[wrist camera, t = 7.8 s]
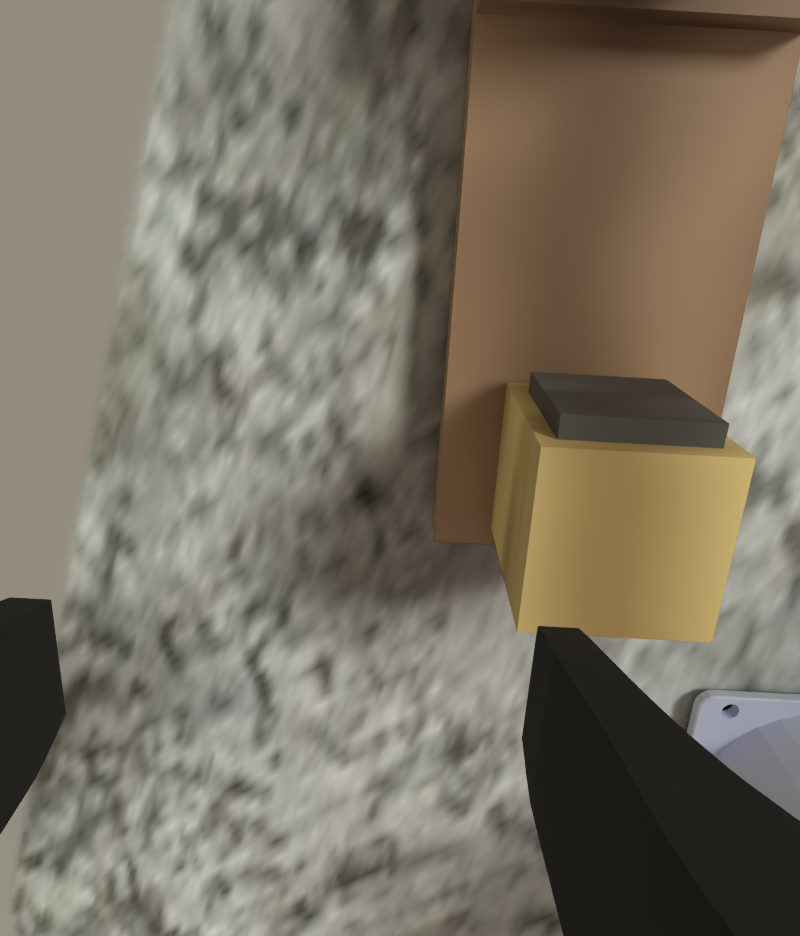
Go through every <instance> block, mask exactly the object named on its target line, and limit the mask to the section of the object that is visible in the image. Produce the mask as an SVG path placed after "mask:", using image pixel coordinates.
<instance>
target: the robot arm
mask: <svg viewBox="0 0 800 936" xmlns="http://www.w3.org/2000/svg"><path fill="white" fill-rule="evenodd" d="M730 704H733V706H732V707H731V708H729V709H727V710H723V708H724V707H725V706H727V705H730ZM65 714H66V712H65V704H64V696H63V689H62V681H61V673H60V666H59V658H58V650H57V642H56V635H55V627H54V619H53V612H52V604H51V600H46V599H27V598H7V599H5V600H2V601H0V834H1V832H2V831H3V829H4V828H5V826H6V824H7V823H8V821H9V820H10V818H11V817H12V815H13V813H14V812H15V810H16V809H17V807H18V805H19V804H20V802H21V801H22V799H23V798H24V796H25V794H26V793H27V791H28V790H29V788H30V786H31V785H32V783H33V781H34V780H35V778H36V777H37V774H38V772H39V770H40V768H41V766H42V764H43V762H44V760H45V758H46V756H47V754H48V752H49V750H50V748H51V746H52V743H53V741H54V739H55V737H56V735H57V732H58V730H59V728H60V726H61V723H62V721H63V719H64V717H65ZM522 741H523V750H524V758H525V767H526V775H527V782H528V790H529V797H530V804H531V808H532V812H533V816H534V820H535V824H536V828H537V832H538V836H539V840H540V844H541V849H542V853H543V857H544V860H545V864H546V868H547V872H548V876H549V880H550V884H551V888H552V892H553V896H554V900H555V904H556V908H557V912H558V916H559V919H560V923H561V927H562V931H563V935H564V936H800V694H783V693H765V692H746V691H727V690H707V691H704V692H702V693H700V694H699V695H698V696H697V697H696V699H695V701H694V704H693V708H692V712H691V716H690V720H689V725H688V729H687V732H686V731H685V730H684V729H682V728H681V727H680V726H679V725H678V724H677V723H676V722H675V721H674V720H672V719H671V718H670V717H669V716H668V715H667V714H666V713H665V712H664V711H663V710H662V709H661V708H659V707H658V706H657V705H656V704H655V703H654V702H653V701H652V700H651V699H650V698H649V697H648V696H647V695H646V694H645V693H644V692H643V691H642V690H641V689H640V688H639V687H638V686H637V685H636V684H635V683H634V682H633V681H632V680H630V679H629V678H628V676H627V675H626V674H625V673H624V672H623V671H622V670H621V669H620V668H619V667H618V666H617V665H616V664H615V663H614V662H613V661H612V660H611V659H610V658H609V657H608V656H607V655H606V654H605V653H604V652H603V651H602V650H601V649H600V648H599V647H598V646H597V645H596V644H595V643H594V642H593V641H592V640H591V639H590V638H589V637H588V636H587V635H586V634H585V633H584V632H583V631H581V630H580V629H579V628H568V627H549V626H538V628H537V635H536V642H535V649H534V656H533V663H532V671H531V678H530V685H529V692H528V699H527V706H526V713H525V720H524V728H523V735H522Z"/></svg>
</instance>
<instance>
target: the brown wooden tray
mask: <svg viewBox="0 0 800 936" xmlns="http://www.w3.org/2000/svg"><path fill="white" fill-rule="evenodd" d="M799 58H800V0H473V9H472V22H471V35H470V48H469V61H468V74H467V86H466V99H465V112H464V125H463V138H462V151H461V164H460V177H459V190H458V203H457V216H456V229H455V242H454V255H453V268H452V281H451V294H450V307H449V320H448V333H447V346H446V358H445V371H444V384H443V397H442V410H441V423H440V436H439V449H438V462H437V475H436V488H435V501H434V514H433V532H434V541H435V542H453V543H471V544H490V545H496V549H497V553H498V557H499V561H500V565H501V569H502V573H503V577H504V581H505V585H506V589H507V593H508V597H509V601H510V606H511V610H512V614H513V618H514V622H515V626H516V630H517V632H527V633H537V628H538V626H549V627H568V628H579V629H580V630H581V631H583V632H584V633H585V634H586V635H587V636H601V637H620V638H639V639H657V640H676V641H695V642H712V640H713V636H714V632H715V628H716V624H717V620H718V615H719V611H720V607H721V603H722V599H723V594H724V590H725V586H726V582H727V578H728V574H729V569H730V565H731V561H732V557H733V553H734V549H735V544H736V540H737V536H738V532H739V528H740V524H741V519H742V515H743V511H744V507H745V503H746V499H747V494H748V490H749V486H750V482H751V478H752V474H753V469H754V465H755V461H756V458H755V457H753V456H752V455H751V454H749V453H748V452H747V451H745V450H744V449H743V448H741V447H740V446H739V445H737V444H736V443H735V442H733V441H732V440H731V439H729V438H728V437H727V431H728V427H729V423H727V422H726V421H725V420H723V419H722V418H721V417H722V412H723V407H724V403H725V398H726V394H727V389H728V384H729V380H730V375H731V371H732V366H733V361H734V357H735V352H736V348H737V343H738V338H739V334H740V329H741V325H742V320H743V315H744V311H745V306H746V302H747V297H748V292H749V288H750V283H751V279H752V274H753V269H754V265H755V260H756V256H757V251H758V246H759V242H760V237H761V233H762V228H763V223H764V219H765V214H766V210H767V205H768V200H769V196H770V191H771V187H772V182H773V177H774V173H775V168H776V164H777V159H778V154H779V150H780V145H781V141H782V136H783V131H784V127H785V122H786V118H787V113H788V108H789V104H790V99H791V95H792V90H793V85H794V81H795V76H796V72H797V67H798V62H799Z"/></svg>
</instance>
